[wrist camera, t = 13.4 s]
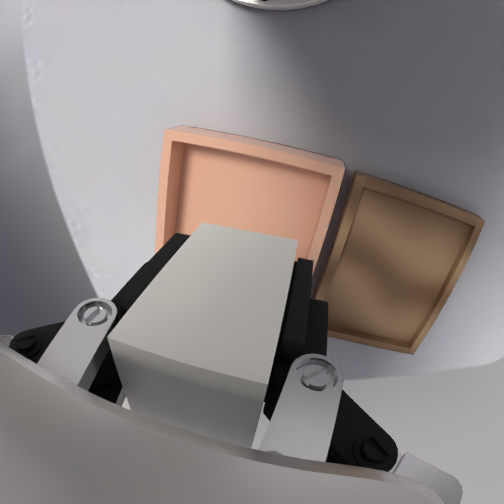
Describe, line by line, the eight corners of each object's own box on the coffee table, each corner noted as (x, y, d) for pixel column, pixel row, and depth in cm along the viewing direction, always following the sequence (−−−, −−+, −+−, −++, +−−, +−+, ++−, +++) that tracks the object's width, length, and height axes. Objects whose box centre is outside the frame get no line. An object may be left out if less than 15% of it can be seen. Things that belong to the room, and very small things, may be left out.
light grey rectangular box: (202, 222, 11) (107, 337, 6) (298, 240, 11) (268, 384, 5) (200, 305, 13) (136, 423, 8) (280, 323, 12) (248, 457, 7)
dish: (181, 125, 23) (164, 129, 20) (342, 160, 21) (345, 168, 19) (169, 269, 29) (154, 286, 26) (297, 306, 28) (294, 327, 25)
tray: (354, 170, 21) (356, 174, 20) (478, 215, 20) (484, 221, 19) (304, 321, 28) (303, 330, 27) (411, 346, 27) (413, 354, 26)
